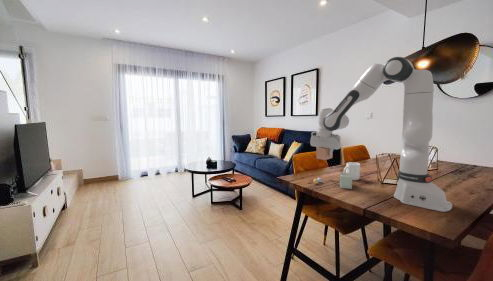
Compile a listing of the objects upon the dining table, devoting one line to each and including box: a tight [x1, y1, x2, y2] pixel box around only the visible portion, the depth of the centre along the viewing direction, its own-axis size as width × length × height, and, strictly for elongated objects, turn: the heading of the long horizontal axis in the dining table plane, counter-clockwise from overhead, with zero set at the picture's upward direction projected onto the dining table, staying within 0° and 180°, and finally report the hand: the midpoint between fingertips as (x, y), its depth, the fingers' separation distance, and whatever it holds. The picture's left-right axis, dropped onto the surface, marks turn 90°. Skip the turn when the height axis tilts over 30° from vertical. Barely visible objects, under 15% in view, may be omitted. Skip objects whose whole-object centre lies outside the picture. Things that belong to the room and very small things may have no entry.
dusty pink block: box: [315, 147, 334, 161], centre depth 142 cm, size 6×9×7 cm
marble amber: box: [313, 178, 319, 185], centre depth 135 cm, size 3×3×3 cm
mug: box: [343, 161, 361, 181], centre depth 144 cm, size 12×8×10 cm
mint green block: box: [339, 172, 353, 190], centre depth 130 cm, size 6×9×7 cm
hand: (324, 154), depth 142 cm, fingers closed on dusty pink block, 6 cm apart
